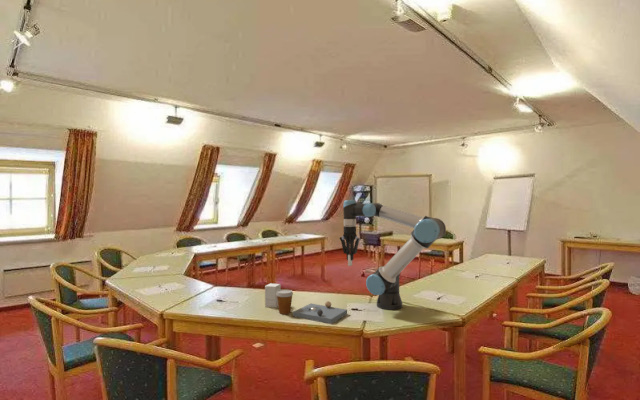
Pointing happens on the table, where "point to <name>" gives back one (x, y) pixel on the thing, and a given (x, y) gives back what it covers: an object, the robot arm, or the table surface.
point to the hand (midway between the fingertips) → (350, 265)
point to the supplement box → (271, 295)
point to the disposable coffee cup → (284, 301)
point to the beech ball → (328, 304)
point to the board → (327, 317)
